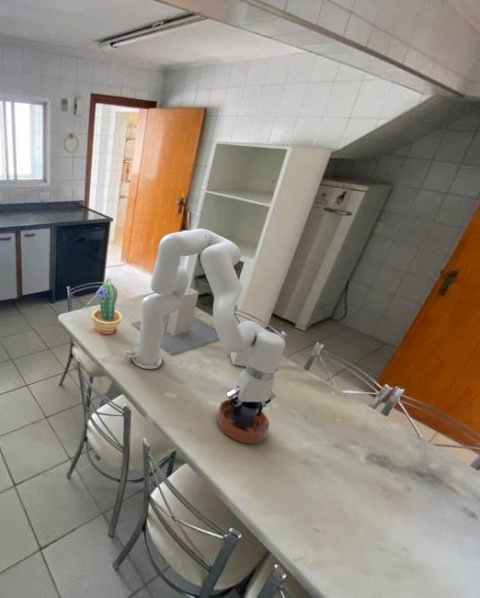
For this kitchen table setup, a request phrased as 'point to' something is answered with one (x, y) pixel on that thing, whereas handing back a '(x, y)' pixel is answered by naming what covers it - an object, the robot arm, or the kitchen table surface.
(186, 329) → the grey base with block
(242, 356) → the milk carton
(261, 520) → the kitchen table surface
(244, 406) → the cup
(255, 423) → the bowl
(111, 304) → the potted cactus
